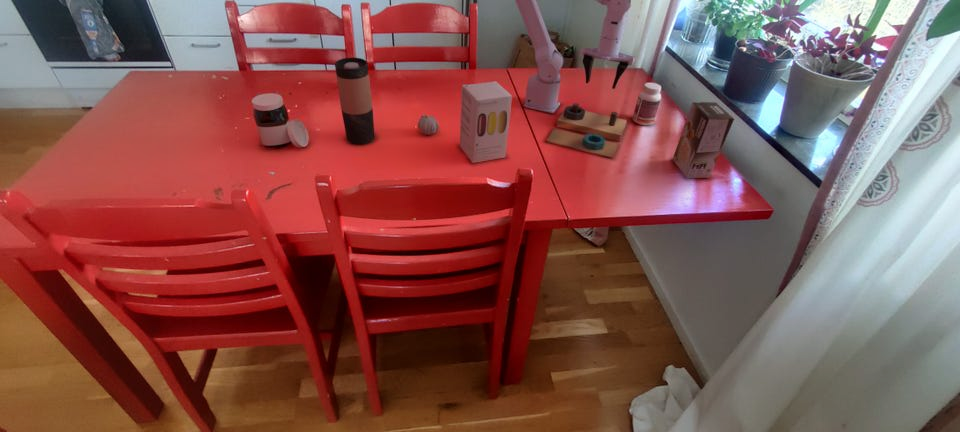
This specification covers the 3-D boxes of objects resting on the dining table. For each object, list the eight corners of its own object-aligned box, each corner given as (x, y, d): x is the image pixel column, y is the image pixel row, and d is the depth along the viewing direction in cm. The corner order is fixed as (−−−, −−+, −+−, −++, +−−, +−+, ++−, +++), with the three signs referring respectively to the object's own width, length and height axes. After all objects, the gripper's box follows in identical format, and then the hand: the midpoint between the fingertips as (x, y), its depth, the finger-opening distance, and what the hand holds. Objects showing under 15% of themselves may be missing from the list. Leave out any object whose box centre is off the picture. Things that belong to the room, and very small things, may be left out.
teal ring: (580, 146, 122) (581, 140, 121) (585, 137, 126) (586, 131, 125) (601, 152, 120) (602, 146, 119) (605, 142, 124) (607, 136, 123)
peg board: (556, 126, 131) (559, 108, 127) (565, 112, 138) (568, 95, 135) (619, 141, 126) (624, 123, 122) (625, 126, 133) (630, 109, 130)
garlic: (413, 134, 123) (412, 117, 120) (422, 126, 127) (421, 108, 124) (433, 139, 122) (433, 121, 118) (442, 130, 126) (442, 113, 122)
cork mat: (545, 141, 124) (545, 140, 123) (554, 129, 129) (554, 128, 129) (612, 158, 119) (612, 157, 118) (617, 144, 124) (618, 143, 124)
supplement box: (472, 164, 113) (475, 100, 103) (458, 146, 120) (459, 84, 109) (506, 157, 116) (513, 95, 106) (491, 140, 123) (496, 79, 112)
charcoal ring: (561, 117, 131) (562, 111, 130) (567, 109, 135) (568, 104, 134) (580, 122, 129) (582, 116, 128) (585, 114, 134) (586, 108, 132)
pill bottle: (657, 123, 136) (669, 87, 129) (643, 127, 133) (654, 91, 126) (641, 114, 140) (651, 79, 133) (627, 119, 137) (637, 83, 130)
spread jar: (260, 135, 119) (248, 92, 112) (306, 128, 123) (297, 87, 116) (263, 158, 111) (250, 114, 103) (312, 150, 114) (303, 107, 107)
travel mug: (380, 134, 122) (373, 60, 110) (366, 148, 117) (356, 71, 104) (355, 128, 124) (345, 55, 112) (340, 141, 118) (327, 65, 106)
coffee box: (710, 178, 113) (736, 119, 103) (685, 178, 113) (709, 119, 103) (694, 158, 121) (716, 101, 110) (670, 158, 120) (691, 101, 110)
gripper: (581, 35, 123) (572, 84, 131) (636, 45, 119) (623, 95, 127) (587, 29, 128) (578, 76, 136) (640, 38, 124) (627, 86, 132)
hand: (600, 84), depth 132 cm, fingers open, 7 cm apart
